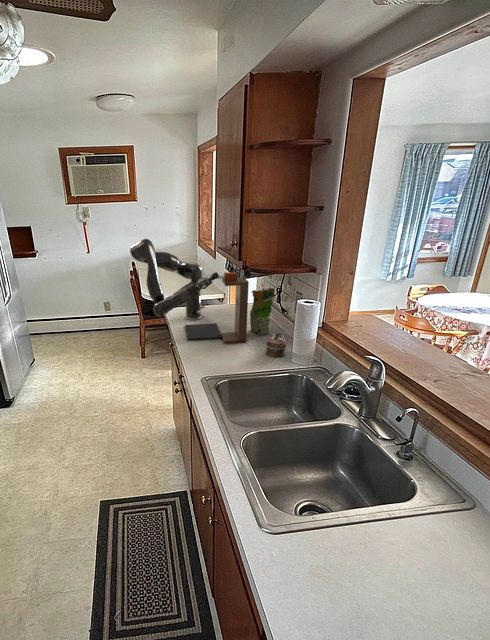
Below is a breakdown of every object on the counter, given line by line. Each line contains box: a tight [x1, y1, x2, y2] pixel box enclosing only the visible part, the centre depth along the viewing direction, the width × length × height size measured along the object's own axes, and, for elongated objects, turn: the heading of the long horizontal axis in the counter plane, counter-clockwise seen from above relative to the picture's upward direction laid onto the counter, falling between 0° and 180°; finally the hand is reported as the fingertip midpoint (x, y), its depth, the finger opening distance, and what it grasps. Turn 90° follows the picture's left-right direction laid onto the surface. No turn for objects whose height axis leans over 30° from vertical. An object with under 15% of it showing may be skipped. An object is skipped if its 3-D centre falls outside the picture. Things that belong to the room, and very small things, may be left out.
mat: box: [185, 322, 222, 341], centre depth 220 cm, size 22×18×1 cm
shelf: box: [220, 276, 250, 344], centre depth 203 cm, size 12×12×32 cm
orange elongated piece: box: [204, 271, 238, 281], centre depth 195 cm, size 4×16×3 cm, turn 92°
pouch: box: [249, 287, 276, 336], centre depth 212 cm, size 11×12×25 cm
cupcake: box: [265, 332, 287, 358], centre depth 188 cm, size 10×10×10 cm
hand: (217, 274), depth 194 cm, fingers closed on orange elongated piece
